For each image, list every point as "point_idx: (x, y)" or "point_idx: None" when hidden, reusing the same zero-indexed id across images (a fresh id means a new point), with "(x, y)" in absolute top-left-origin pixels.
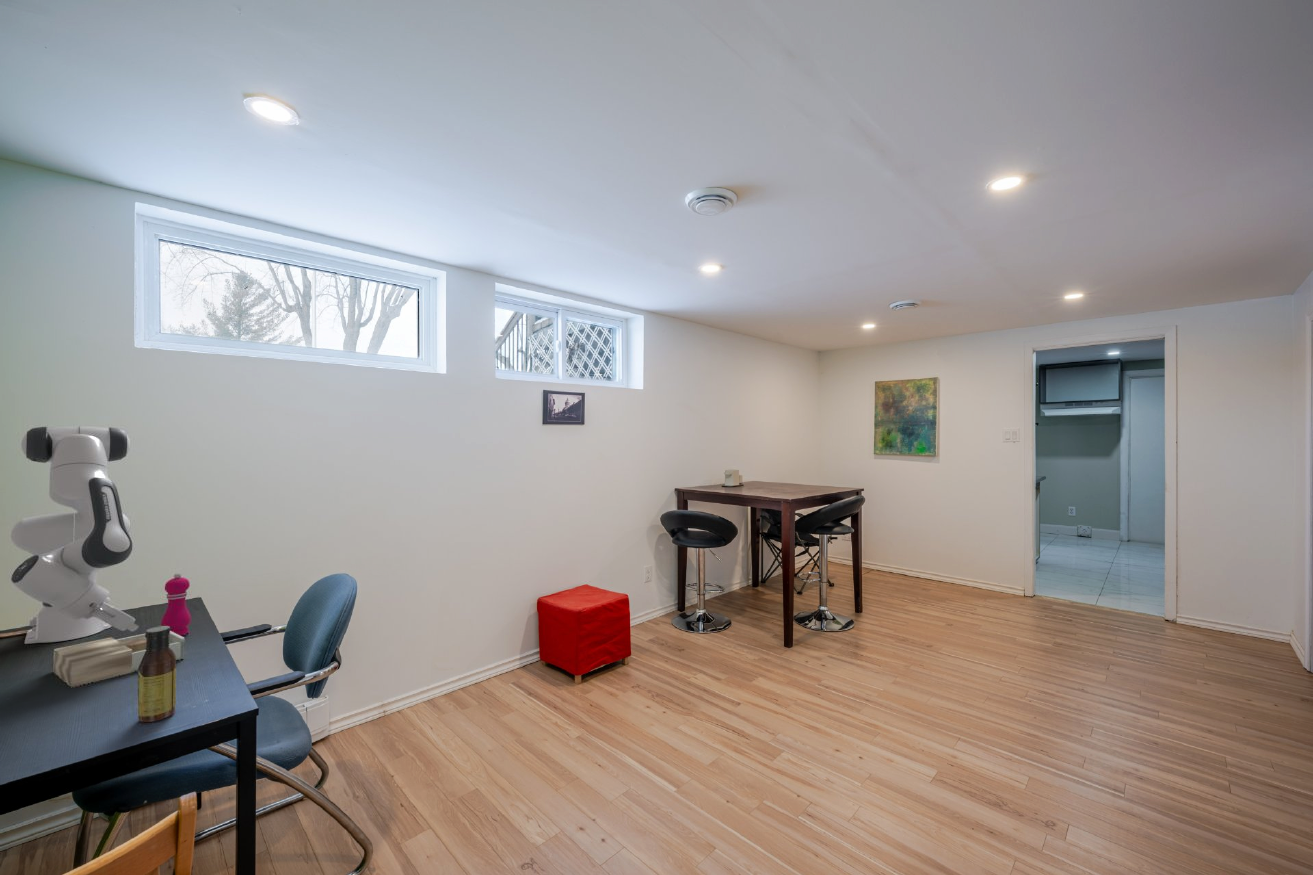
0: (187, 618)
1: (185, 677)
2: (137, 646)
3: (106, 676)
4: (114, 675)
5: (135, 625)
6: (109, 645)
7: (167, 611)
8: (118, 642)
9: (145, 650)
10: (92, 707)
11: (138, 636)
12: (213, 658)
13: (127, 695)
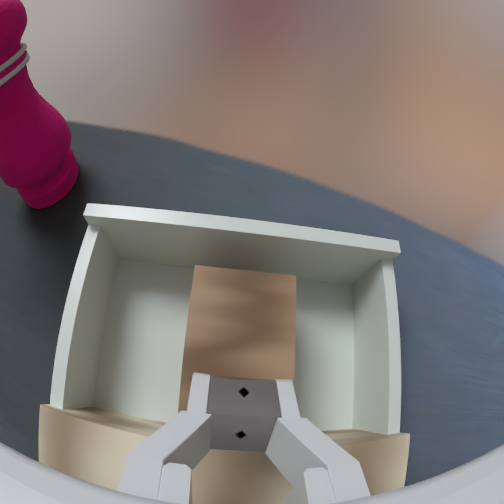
0: (65, 122)
1: (489, 331)
2: None
3: None
4: None
5: (293, 401)
6: (214, 491)
7: (2, 136)
8: None
9: (399, 386)
10: None
11: (79, 304)
12: (410, 235)
13: (496, 439)
